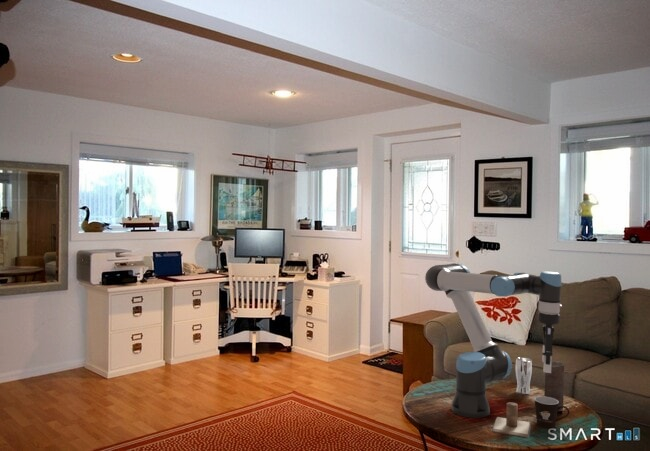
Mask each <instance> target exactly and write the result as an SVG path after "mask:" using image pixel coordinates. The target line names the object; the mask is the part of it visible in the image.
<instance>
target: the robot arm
mask: <svg viewBox="0 0 650 451" xmlns="http://www.w3.org/2000/svg"><path fill="white" fill-rule="evenodd" d="M424 280H425V283H426V285H427V287H428V288H430V289H431V290H432V291H435V292H444V293H445V295H446V297H447V298H448V299H451V300H452V302H453V305H454V307H455V310H456V311H457V314H458V316H459V318H460V321H461V324H462V325H463V328H464V330H465V332H466V335H467V336H468V339H469V341H470V343H471V346H472V348H473V351H471V352H469V351H467V352H463V353H461V354H459V355H458V356H457V358H456V364H455V369H456V370H455V372H456V373H455V377H456V378H455V379H456V380H455V383H456V386H455V387H456V388H455V394H454V397H453V399H452V403H451V412H452V413H454V414H455V415H457V416H460V417H465V418H470V419H471V418H472V419H474V418H475V419H479V418H480V419H481V418H485V417H487V416H490V413H491V410H490V409H491V408H490V405H489V400H488V398H487V395H486V391H487V390H486V388H487V387H486V386H487V384H490V383H492V382H497V381H501V380H503V379H505V378H507V377H508V376H509V375H510V374H511V371H512V367H513V363H512V359H511V357H510V355H509V353H507V352H506V351H504V350H502V349H501V348H500V346H499V344H498V343H497V342H496V343H495V342H493V340H492V338H491V335H490V333H489V331H488V328H487V326H486V325H485V322H484V319H483V318H482V315H481V313H480V311H479V309H478V307H477V305H476V302H475V300H474V298H473V296H472V294H471V292H472V293H473V292H474V293H480V294H481V293H482V294H490V295H495V296H497V297H502V298H503V297H508V296H509V297H510V296H514V295H515V296H517V295H523V294H531V295H537V296H538V309H537V310H538V314H537V316H538V317H537V321H538V322H539V323H542V324H543V325H542V335H543V336H542V337H543V338H542V353H541V354H542V355H541V357H542V358H541V362H542V363H543V364H542V365H543V369H542V370H543V371H542V372H543V373H545V372H546V373H551V365H552V362H553V361H552V360H553V340H554V334H555V327H553V325H558V324H559V323H560V316H561V314H560V311H561V308H562V307H563V305H562V304H561V295H562V293H561V292H562V286H563V284H562V274H561V273H559V272H556V271H550V270H549V271H548V270H547V271H541V272H540V275H536V274H532V273H526V272H515V273H513V274H512V275H497V274H484V273H473V272H471V271H470V270H469V269H468V267H466V266H465V265H464V264H462V263H461V264H460V263H447V264H446V263H445V264H435V265H432V266H430V268H428V269H427V271H426V272H425V276H424Z"/></svg>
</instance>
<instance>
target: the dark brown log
mask: <svg viewBox="0 0 650 451" xmlns="http://www.w3.org/2000/svg"><path fill="white" fill-rule="evenodd" d="M564 384H565V363H564V362H563V361H562V362H561V361H552V365H551V373H546V372H544V396H545V397H551V398H554V399H556V400H558V401H559V404H558V407H560V406H564V395H565V394H564V388H565V386H564ZM561 411H564V408H560V409H559V410H558V411H557V412H561Z"/></svg>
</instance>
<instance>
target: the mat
mask: <svg viewBox="0 0 650 451" xmlns="http://www.w3.org/2000/svg"><path fill="white" fill-rule="evenodd" d="M495 422H496V419H495V420H494V422H493V426H492V428H491V433H492V432H493V433H497V434H505V435H509V436H510V435H511V436H515V437H521V438H522V437H523V438H526V439H529V438H530V434H531V427H532V424H531V423H530V426H529V432H528V437H525V436H519V435H513V434H507V433H502V432H496V431H493V428H494V425H495Z"/></svg>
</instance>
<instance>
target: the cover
mask: <svg viewBox="0 0 650 451" xmlns="http://www.w3.org/2000/svg"><path fill="white" fill-rule="evenodd" d="M518 406H519V405H518V403H516V402H511V401H509V402H506V417H500V416H497V417H496V418H495V420H496V422H495V421H494V423H495V425H494V424H493V426H494V428H493V427H492V429H493V431H496V432H495V433H498V432H502V433H501V434H503V433H507V434H506V435H509V434H513V435H512V436H515V435H519V436H518V437H521V436H525V437H524V438H526V437H528V432H529V426H530V424H531V422H530V421H524V420H518V417H519V416H518V411H519V410H518V408H519V407H518Z"/></svg>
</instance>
